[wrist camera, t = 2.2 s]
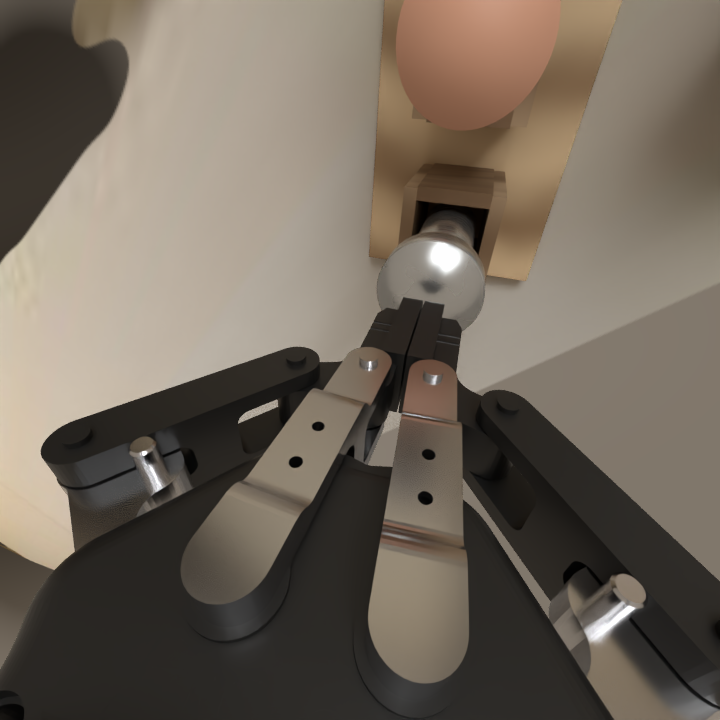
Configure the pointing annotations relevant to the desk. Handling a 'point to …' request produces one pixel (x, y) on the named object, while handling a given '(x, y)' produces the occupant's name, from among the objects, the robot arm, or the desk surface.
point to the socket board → (486, 148)
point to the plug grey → (437, 266)
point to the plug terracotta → (473, 56)
